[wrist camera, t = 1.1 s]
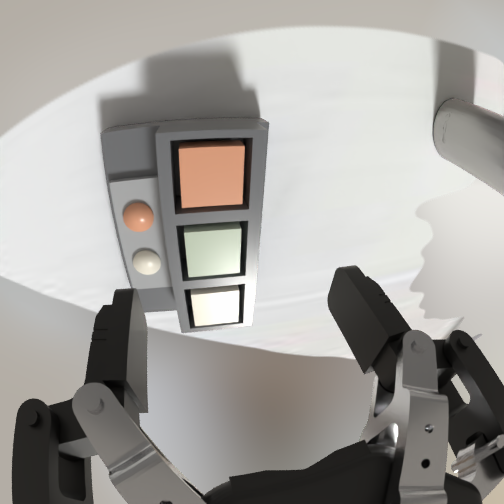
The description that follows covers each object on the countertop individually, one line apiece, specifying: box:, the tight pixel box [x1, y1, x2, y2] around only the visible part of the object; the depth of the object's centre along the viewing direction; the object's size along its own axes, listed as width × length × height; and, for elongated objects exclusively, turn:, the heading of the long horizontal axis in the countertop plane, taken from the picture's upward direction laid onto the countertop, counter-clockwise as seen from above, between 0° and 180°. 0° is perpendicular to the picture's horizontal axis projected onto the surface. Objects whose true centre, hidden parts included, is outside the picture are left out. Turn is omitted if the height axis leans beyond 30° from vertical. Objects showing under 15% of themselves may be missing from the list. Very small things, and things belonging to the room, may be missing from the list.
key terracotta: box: [179, 140, 245, 208], centre depth 20 cm, size 5×5×2 cm
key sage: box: [184, 221, 241, 277], centre depth 24 cm, size 5×5×2 cm
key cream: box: [191, 285, 239, 326], centre depth 28 cm, size 5×5×2 cm
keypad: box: [101, 118, 269, 333], centre depth 26 cm, size 14×21×6 cm
